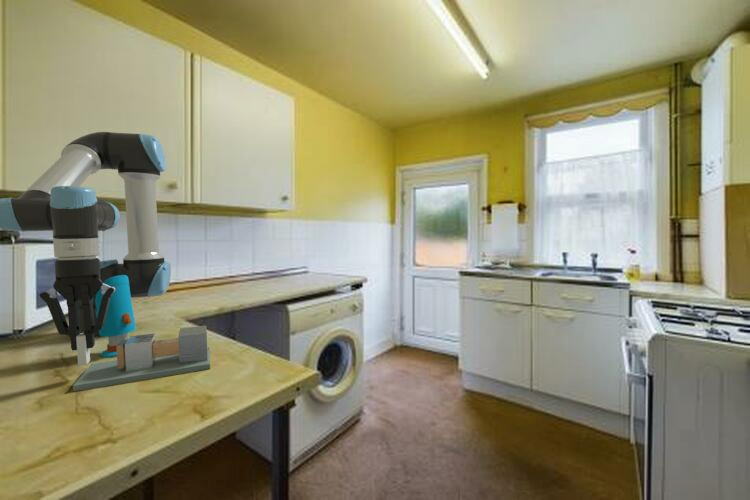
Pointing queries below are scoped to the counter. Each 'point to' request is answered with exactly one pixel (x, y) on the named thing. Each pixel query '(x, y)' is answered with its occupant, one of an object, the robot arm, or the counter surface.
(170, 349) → the bolt
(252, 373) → the counter surface
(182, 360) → the socket
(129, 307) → the security camera
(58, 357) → the counter surface
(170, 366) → the board
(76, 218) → the robot arm
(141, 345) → the sleeve
